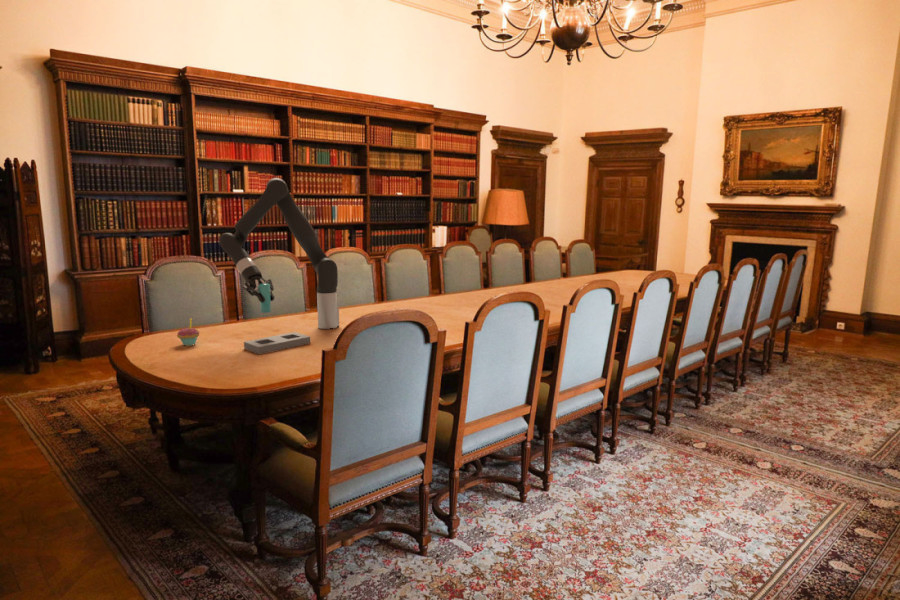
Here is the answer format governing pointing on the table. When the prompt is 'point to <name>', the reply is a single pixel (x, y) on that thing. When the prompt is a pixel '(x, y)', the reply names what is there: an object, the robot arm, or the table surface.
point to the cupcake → (188, 335)
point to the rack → (276, 342)
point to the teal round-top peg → (265, 292)
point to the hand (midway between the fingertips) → (268, 300)
